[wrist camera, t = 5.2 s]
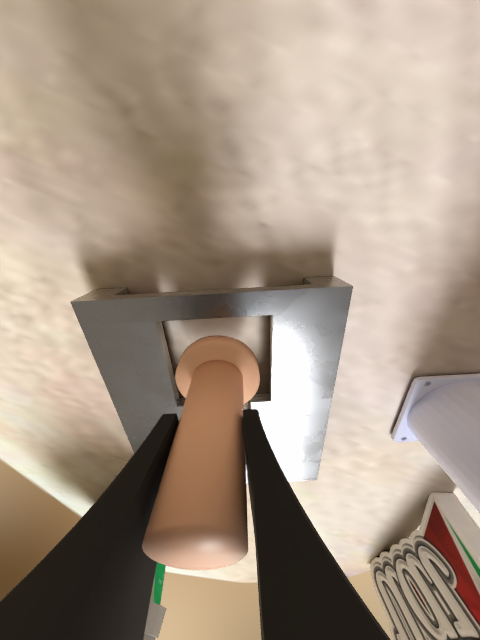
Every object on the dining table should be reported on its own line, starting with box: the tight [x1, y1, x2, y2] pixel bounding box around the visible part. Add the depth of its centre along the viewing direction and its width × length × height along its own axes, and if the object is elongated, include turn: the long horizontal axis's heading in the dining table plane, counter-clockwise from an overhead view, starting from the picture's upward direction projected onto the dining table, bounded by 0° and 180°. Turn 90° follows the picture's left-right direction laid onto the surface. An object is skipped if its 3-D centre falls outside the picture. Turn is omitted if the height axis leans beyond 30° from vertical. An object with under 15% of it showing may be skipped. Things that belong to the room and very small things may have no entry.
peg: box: [142, 335, 260, 570], centre depth 9 cm, size 5×5×8 cm
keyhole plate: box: [71, 276, 353, 484], centre depth 17 cm, size 16×19×2 cm
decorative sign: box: [370, 492, 480, 640], centre depth 25 cm, size 23×3×15 cm, turn 175°
